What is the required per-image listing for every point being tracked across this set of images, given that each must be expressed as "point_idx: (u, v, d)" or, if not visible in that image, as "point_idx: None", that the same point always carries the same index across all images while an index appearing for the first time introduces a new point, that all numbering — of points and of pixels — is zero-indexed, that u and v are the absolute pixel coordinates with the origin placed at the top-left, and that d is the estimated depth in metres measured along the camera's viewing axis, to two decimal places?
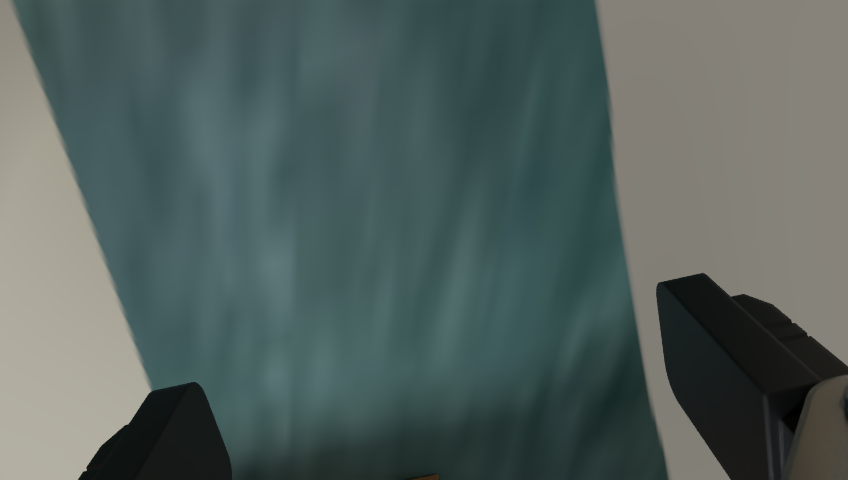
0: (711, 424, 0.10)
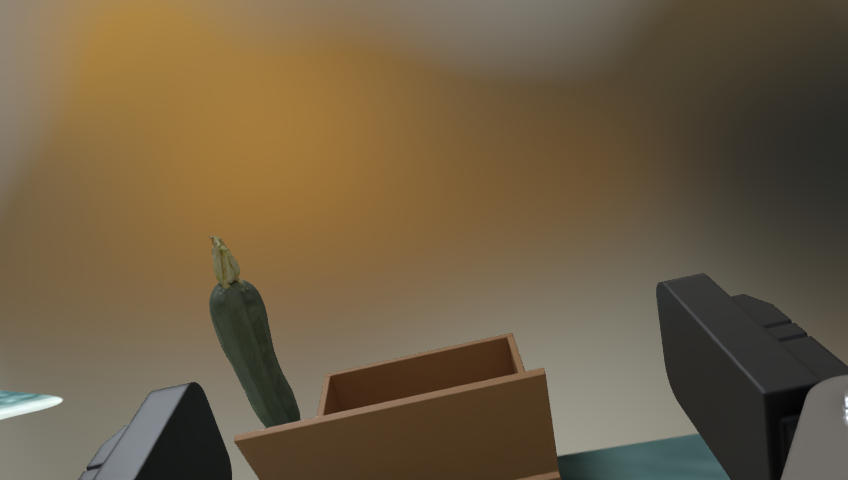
0: (711, 424, 0.10)
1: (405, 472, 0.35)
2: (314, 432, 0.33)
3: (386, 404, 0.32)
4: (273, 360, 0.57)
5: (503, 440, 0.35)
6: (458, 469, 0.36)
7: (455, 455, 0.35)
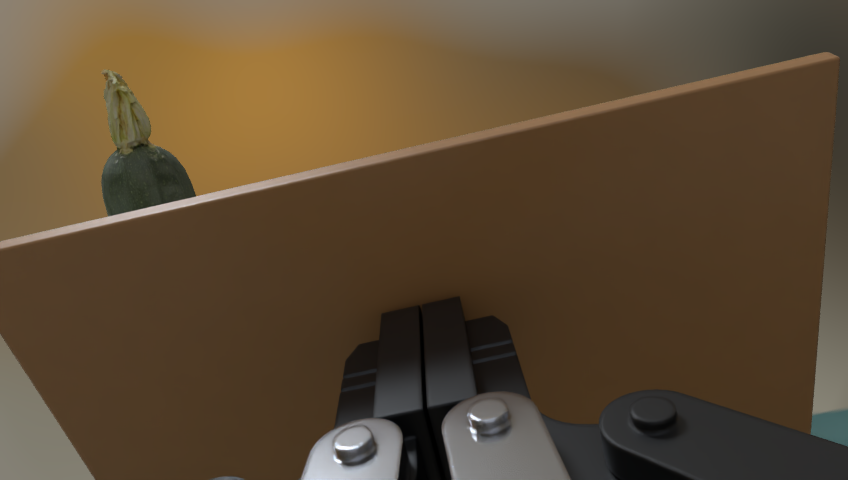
0: None
1: None
2: (176, 243, 0.12)
3: (376, 157, 0.11)
4: None
5: (688, 318, 0.13)
6: (563, 412, 0.14)
7: (560, 363, 0.13)
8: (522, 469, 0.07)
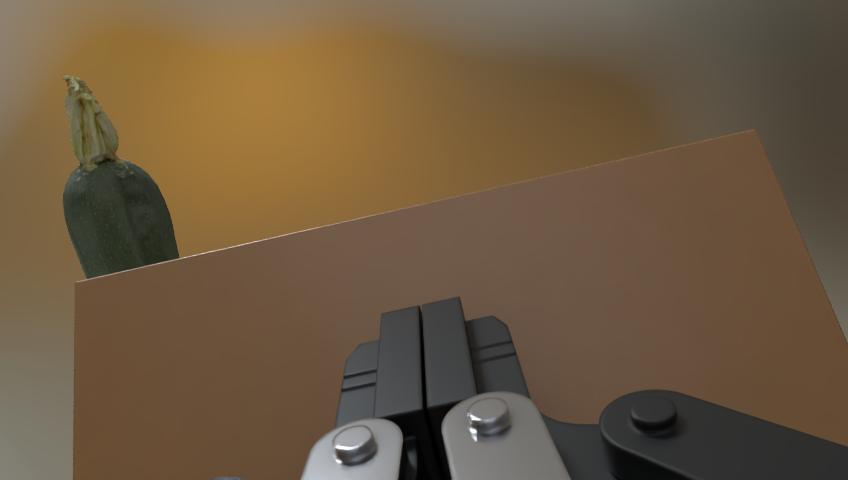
0: None
1: None
2: (240, 271, 0.15)
3: (404, 211, 0.15)
4: None
5: (706, 365, 0.13)
6: None
7: (577, 417, 0.13)
8: (522, 469, 0.07)
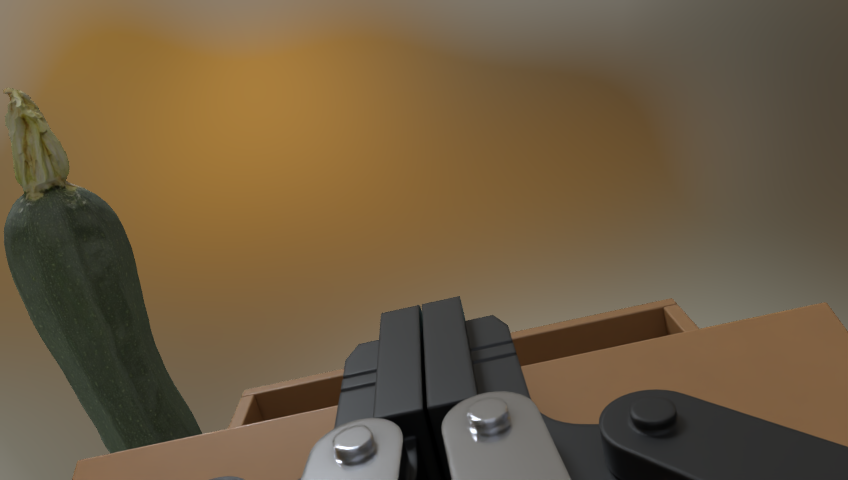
0: None
1: None
2: (254, 450, 0.13)
3: None
4: (147, 359, 0.27)
5: None
6: None
7: None
8: (522, 469, 0.07)
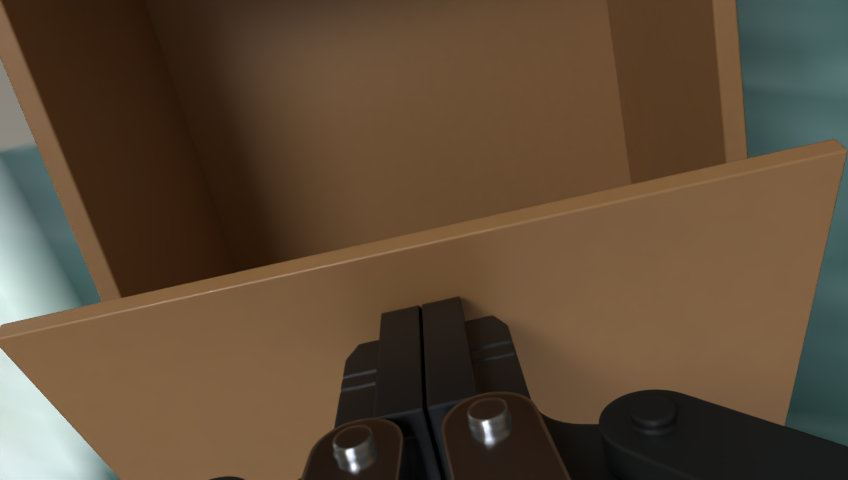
0: None
1: None
2: (209, 319, 0.12)
3: (401, 240, 0.12)
4: None
5: (683, 357, 0.14)
6: None
7: (564, 395, 0.15)
8: (521, 470, 0.07)
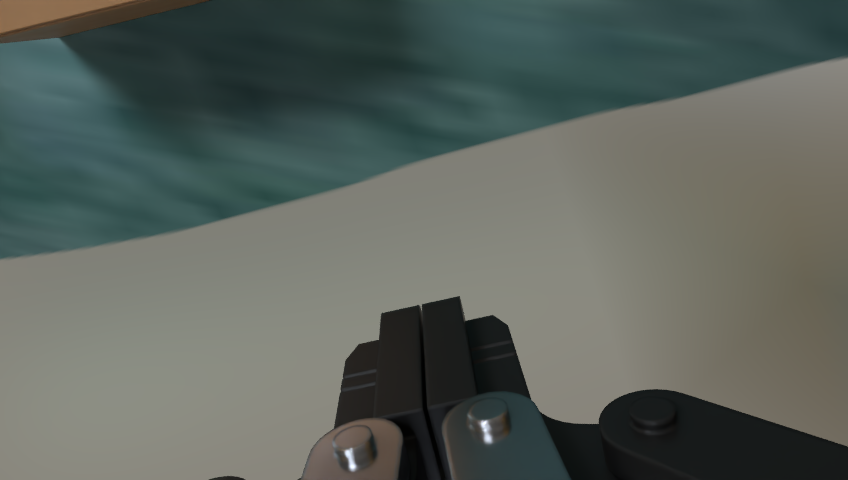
0: None
1: None
2: None
3: None
4: None
5: None
6: None
7: None
8: (521, 470, 0.07)
